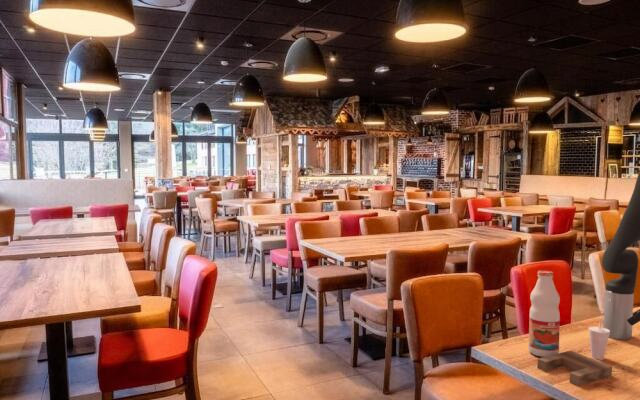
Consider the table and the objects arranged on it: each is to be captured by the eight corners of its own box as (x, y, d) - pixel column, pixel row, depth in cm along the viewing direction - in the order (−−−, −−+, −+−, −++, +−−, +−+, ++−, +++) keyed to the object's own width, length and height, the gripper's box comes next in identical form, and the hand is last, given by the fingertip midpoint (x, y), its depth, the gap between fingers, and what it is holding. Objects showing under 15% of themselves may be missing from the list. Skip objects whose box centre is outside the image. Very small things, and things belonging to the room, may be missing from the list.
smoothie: (589, 360, 163) (592, 318, 162) (584, 352, 169) (586, 313, 168) (611, 362, 161) (614, 320, 160) (604, 354, 167) (607, 314, 166)
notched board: (570, 359, 163) (570, 350, 163) (611, 375, 151) (612, 366, 150) (537, 367, 156) (537, 358, 155) (578, 386, 143) (578, 376, 143)
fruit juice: (551, 349, 172) (553, 269, 171) (563, 358, 162) (566, 274, 161) (524, 348, 172) (526, 269, 171) (535, 357, 163) (537, 274, 162)
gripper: (671, 277, 156) (627, 305, 165) (665, 285, 145) (618, 314, 154) (691, 297, 153) (645, 324, 161) (685, 307, 142) (636, 335, 151)
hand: (631, 319), depth 158 cm, fingers open, 8 cm apart
